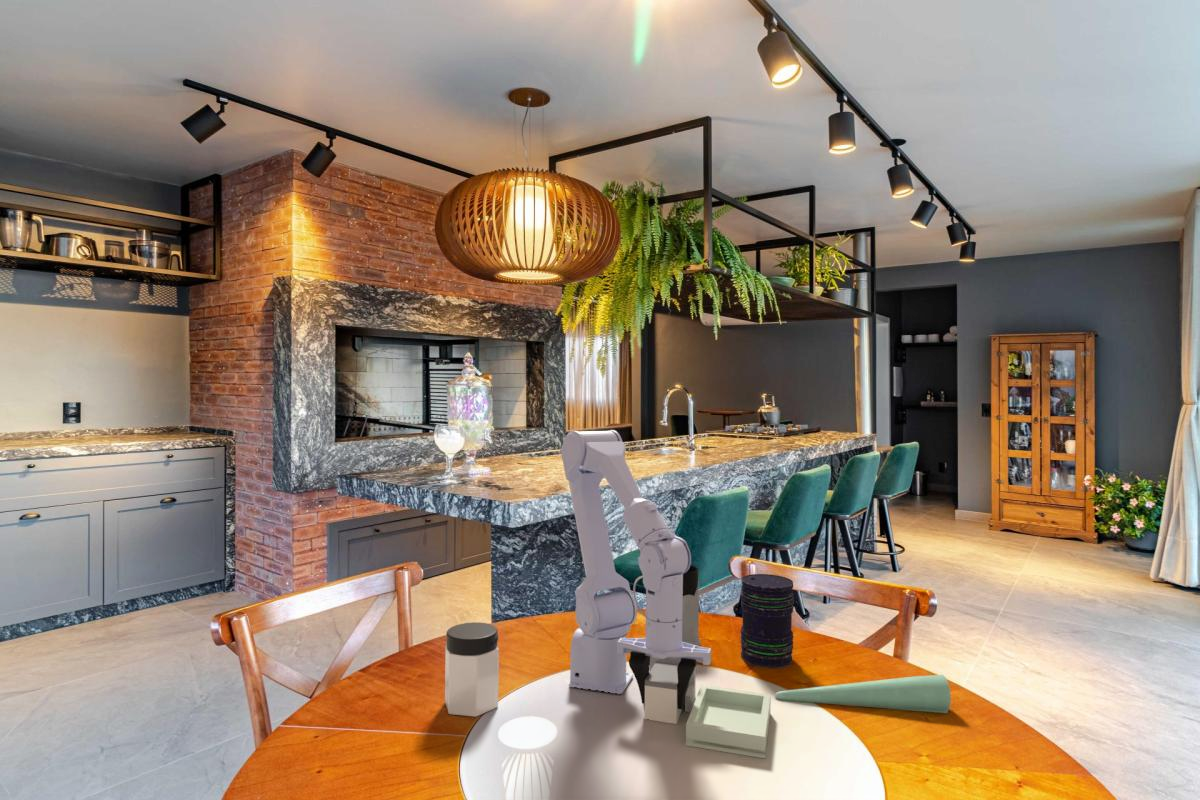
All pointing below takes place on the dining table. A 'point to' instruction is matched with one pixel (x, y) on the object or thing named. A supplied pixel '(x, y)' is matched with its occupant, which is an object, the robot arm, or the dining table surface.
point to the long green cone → (881, 694)
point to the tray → (729, 721)
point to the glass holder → (686, 606)
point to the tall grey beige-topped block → (662, 693)
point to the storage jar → (767, 620)
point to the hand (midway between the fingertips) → (662, 703)
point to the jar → (471, 669)
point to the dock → (691, 685)
